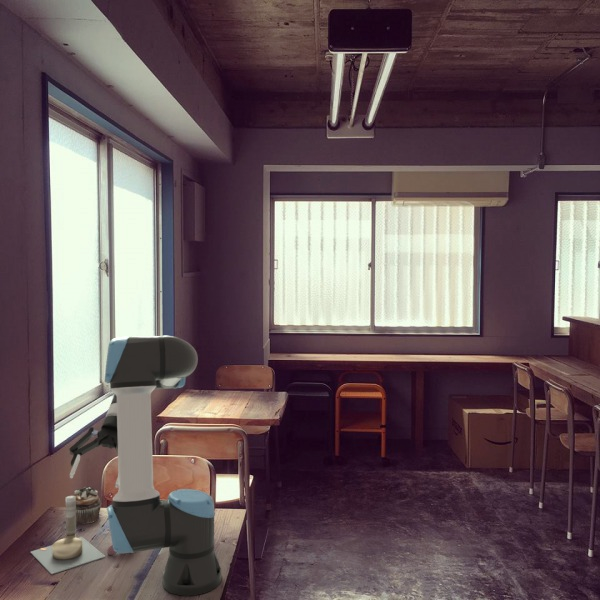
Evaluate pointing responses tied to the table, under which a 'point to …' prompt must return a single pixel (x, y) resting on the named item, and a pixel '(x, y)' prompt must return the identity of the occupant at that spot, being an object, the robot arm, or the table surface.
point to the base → (59, 565)
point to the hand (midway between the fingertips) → (93, 481)
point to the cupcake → (87, 505)
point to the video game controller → (111, 550)
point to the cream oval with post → (68, 534)
